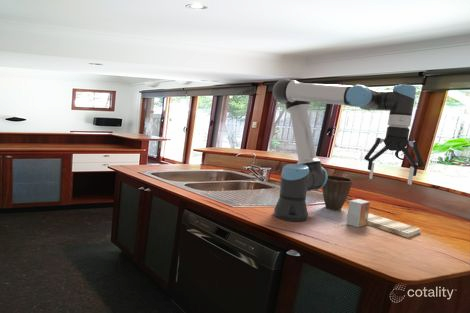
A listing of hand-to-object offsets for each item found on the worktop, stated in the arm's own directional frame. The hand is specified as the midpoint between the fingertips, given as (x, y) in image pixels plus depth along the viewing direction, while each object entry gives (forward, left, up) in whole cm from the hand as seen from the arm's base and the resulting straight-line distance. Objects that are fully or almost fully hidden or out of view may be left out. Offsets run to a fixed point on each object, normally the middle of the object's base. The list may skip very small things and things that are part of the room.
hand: (389, 181), depth 112 cm
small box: (-12, +3, -22) cm, 26 cm away
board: (-4, +13, -22) cm, 26 cm away
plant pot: (-32, +15, -22) cm, 42 cm away
